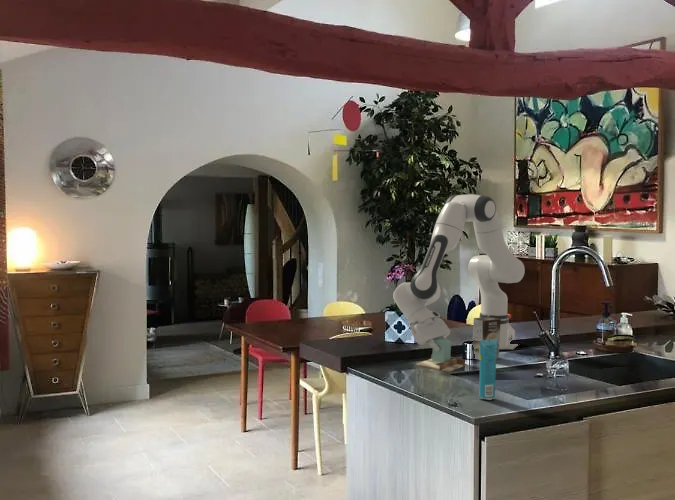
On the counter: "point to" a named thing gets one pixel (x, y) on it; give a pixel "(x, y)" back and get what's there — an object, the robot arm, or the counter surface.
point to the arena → (443, 364)
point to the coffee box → (485, 333)
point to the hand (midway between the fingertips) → (443, 349)
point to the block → (442, 350)
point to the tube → (487, 368)
